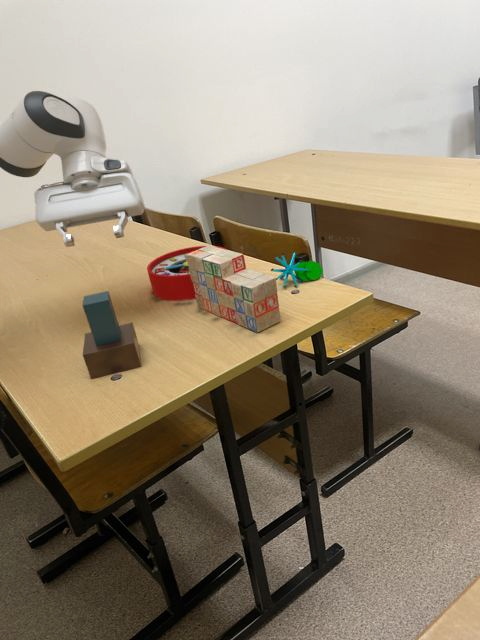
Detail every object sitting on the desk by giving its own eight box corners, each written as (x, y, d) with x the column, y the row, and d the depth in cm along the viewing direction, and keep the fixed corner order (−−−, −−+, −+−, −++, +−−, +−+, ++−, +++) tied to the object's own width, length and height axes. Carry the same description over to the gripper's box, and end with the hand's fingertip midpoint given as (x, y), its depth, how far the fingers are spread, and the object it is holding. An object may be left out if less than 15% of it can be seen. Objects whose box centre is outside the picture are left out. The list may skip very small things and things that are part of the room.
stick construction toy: (275, 284, 114) (273, 249, 115) (265, 293, 121) (263, 260, 122) (326, 286, 118) (323, 252, 119) (313, 294, 124) (311, 263, 126)
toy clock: (235, 265, 117) (145, 283, 116) (239, 289, 120) (152, 307, 119) (225, 240, 135) (147, 255, 133) (229, 262, 138) (153, 277, 136)
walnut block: (91, 379, 94) (82, 355, 92) (92, 356, 102) (84, 333, 99) (141, 366, 95) (134, 342, 93) (139, 345, 103) (132, 322, 101)
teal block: (96, 346, 94) (82, 305, 90) (96, 335, 98) (83, 296, 94) (120, 340, 95) (108, 299, 91) (120, 330, 98) (108, 290, 95)
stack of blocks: (282, 321, 103) (274, 262, 97) (257, 334, 100) (247, 273, 94) (219, 296, 119) (209, 243, 113) (196, 306, 115) (184, 253, 109)
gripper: (26, 177, 100) (31, 242, 96) (134, 159, 101) (143, 222, 97) (40, 196, 106) (46, 258, 102) (141, 178, 107) (151, 239, 103)
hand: (94, 240), depth 99 cm, fingers open, 8 cm apart
